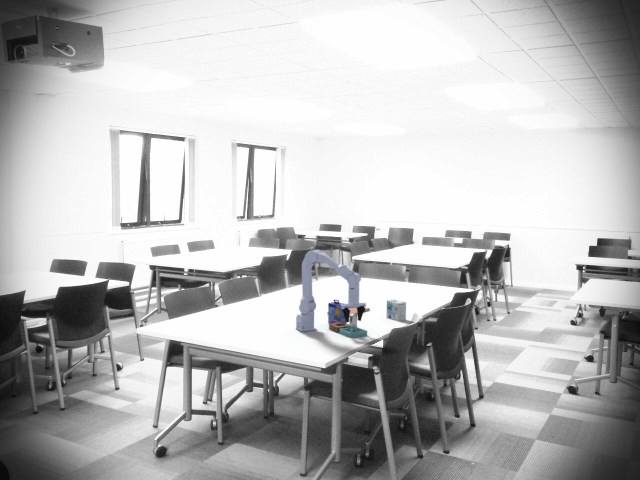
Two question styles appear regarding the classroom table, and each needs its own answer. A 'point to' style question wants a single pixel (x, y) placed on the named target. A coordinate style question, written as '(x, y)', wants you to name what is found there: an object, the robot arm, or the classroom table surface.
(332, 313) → the ink cartridge box
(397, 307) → the light bulb box
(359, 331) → the tray
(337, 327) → the hitch block
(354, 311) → the notebook
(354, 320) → the steel pin
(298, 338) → the classroom table surface
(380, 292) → the classroom table surface
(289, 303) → the classroom table surface
